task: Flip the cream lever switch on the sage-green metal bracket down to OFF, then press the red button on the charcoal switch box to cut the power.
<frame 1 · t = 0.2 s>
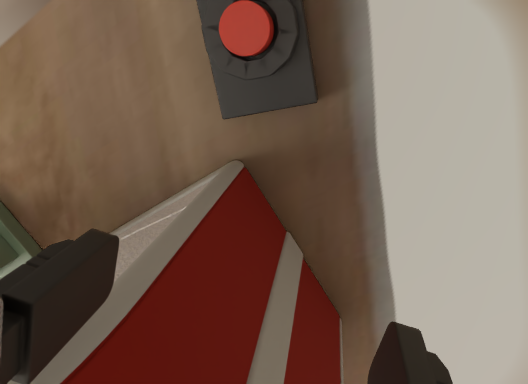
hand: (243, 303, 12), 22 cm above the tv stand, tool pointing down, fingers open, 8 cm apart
switch box: (259, 32, 31), on the tv stand
tissue box: (217, 281, 38), on the tv stand, touching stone
off button: (247, 29, 26), point 5 cm above the tv stand, slide at 0.1 cm
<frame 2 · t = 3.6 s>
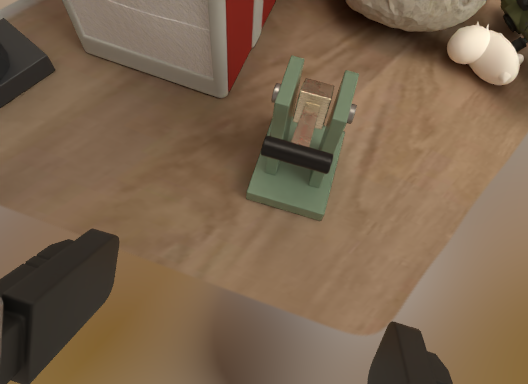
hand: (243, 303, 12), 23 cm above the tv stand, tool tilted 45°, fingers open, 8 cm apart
switch bracket: (295, 168, 40), on the tv stand
toy creature: (502, 53, 45), point 2 cm above the tv stand
decorative shell: (396, 3, 50), on the tv stand
tissue box: (188, 18, 47), on the tv stand, touching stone
lever: (307, 123, 28), point 12 cm above the tv stand, hinge at 30.0°
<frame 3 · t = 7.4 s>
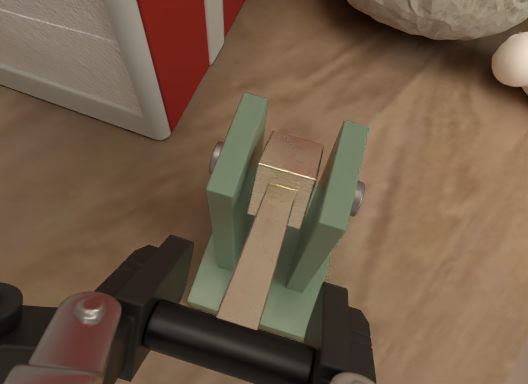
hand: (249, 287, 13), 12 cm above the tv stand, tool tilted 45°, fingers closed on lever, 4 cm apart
switch bracket: (268, 251, 26), on the tv stand
tissue box: (121, 22, 33), on the tv stand, touching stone
lever: (267, 234, 14), point 12 cm above the tv stand, hinge at 30.0°, touching gripper
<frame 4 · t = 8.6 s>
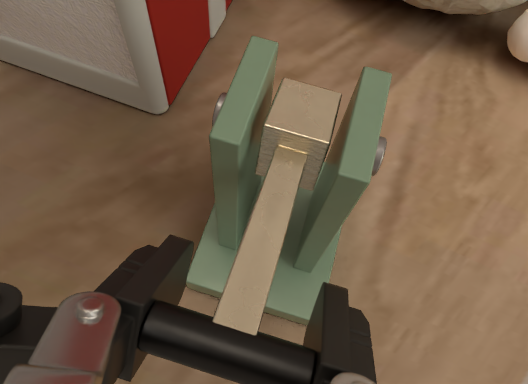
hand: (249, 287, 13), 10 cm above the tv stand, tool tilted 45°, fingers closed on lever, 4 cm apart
switch bracket: (273, 231, 24), on the tv stand
lever: (273, 209, 13), point 11 cm above the tv stand, hinge at 14.4°, touching gripper
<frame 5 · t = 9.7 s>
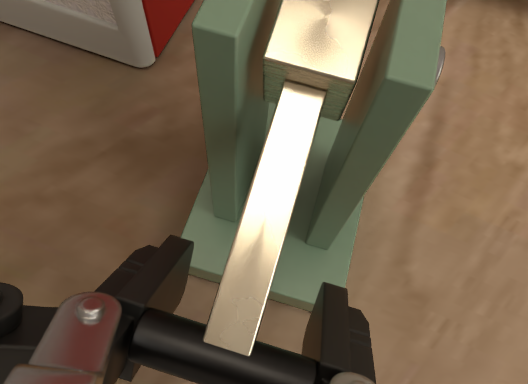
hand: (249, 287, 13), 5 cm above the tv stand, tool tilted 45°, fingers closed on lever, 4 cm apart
switch bracket: (280, 202, 20), on the tv stand
lever: (279, 175, 10), point 9 cm above the tv stand, hinge at -14.4°, touching gripper
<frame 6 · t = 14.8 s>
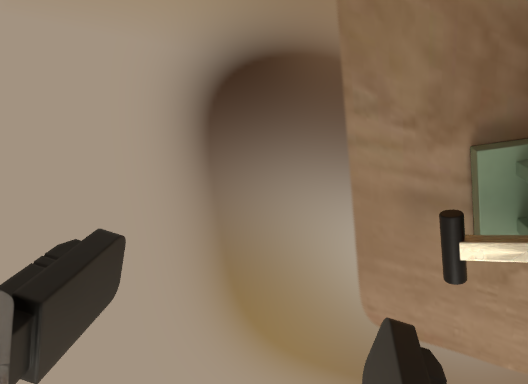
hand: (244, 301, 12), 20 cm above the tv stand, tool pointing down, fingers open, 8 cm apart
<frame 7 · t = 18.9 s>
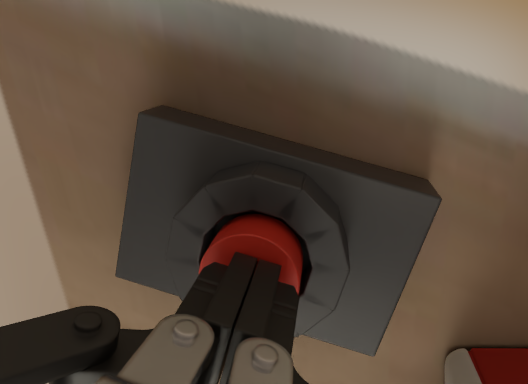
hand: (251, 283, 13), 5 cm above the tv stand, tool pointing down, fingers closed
switch box: (270, 219, 18), on the tv stand
off button: (253, 268, 14), point 4 cm above the tv stand, slide at -0.2 cm, touching gripper
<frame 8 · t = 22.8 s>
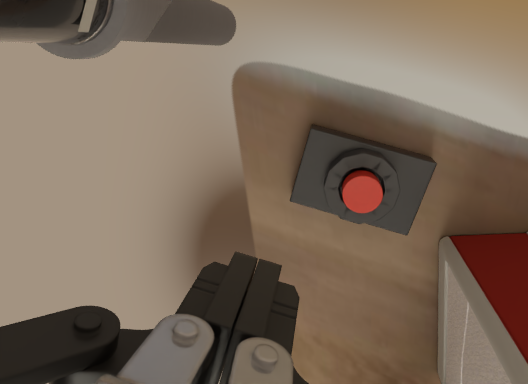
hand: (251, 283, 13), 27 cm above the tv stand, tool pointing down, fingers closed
switch box: (358, 176, 39), on the tv stand
off button: (361, 191, 35), point 5 cm above the tv stand, slide at 0.1 cm
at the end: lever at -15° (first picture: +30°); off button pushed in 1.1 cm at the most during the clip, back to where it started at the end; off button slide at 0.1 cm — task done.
